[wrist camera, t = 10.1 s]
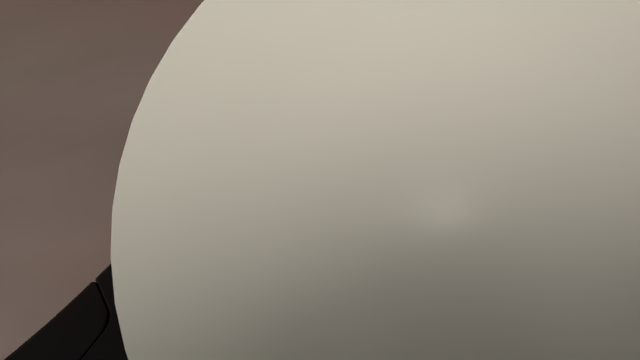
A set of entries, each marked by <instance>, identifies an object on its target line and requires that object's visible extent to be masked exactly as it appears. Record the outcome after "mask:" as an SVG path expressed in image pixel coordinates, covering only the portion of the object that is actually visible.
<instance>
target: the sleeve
mask: <svg viewBox="0 0 640 360" xmlns="http://www.w3.org/2000/svg"><path fill="white" fill-rule="evenodd" d="M111 266H112V277H113V288H114V299H115V307H116V311H117V316H118V320H119V325H120V329H121V334H122V339H123V343H124V348H125V352H126V354H127V357H128V360H640V0H204V1H203V2H202V3H201V4H200V6H199V7H198V8H197V10H196V11H195V12H194V13H193V15H192V16H191V17H190V19H189V20H188V21H187V23H186V24H185V25H184V27H183V28H182V29H181V31H180V32H179V33H178V34H177V36H176V37H175V38H174V40H173V41H172V43H171V45H170V46H169V48H168V50H167V51H166V53H165V55H164V56H163V58H162V60H161V62H160V63H159V65H158V67H157V68H156V70H155V72H154V74H153V75H152V77H151V79H150V81H149V83H148V85H147V88H146V90H145V92H144V95H143V97H142V99H141V102H140V104H139V106H138V109H137V111H136V113H135V116H134V118H133V120H132V123H131V127H130V130H129V134H128V137H127V141H126V144H125V147H124V151H123V154H122V158H121V161H120V165H119V171H118V177H117V183H116V190H115V196H114V202H113V208H112V231H111Z"/></svg>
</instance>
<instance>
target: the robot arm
mask: <svg viewBox="0 0 640 360" xmlns="http://www.w3.org/2000/svg"><path fill="white" fill-rule="evenodd" d="M4 360H128V357H127V354H126V352H125V348H124V343H123V339H122V334H121V329H120V325H119V320H118V316H117V311H116V307H115V299H114V288H113V277H112V266H111V264H110V265H109V266H108V267H107V268H106V269H105V270H104V271H103V272H102V273H101V274H100V275H99V276H98V277H97V278H96V282H91V283H90V284H89V285H88V286H87V287H86V288H85V289H84V290H83V291H82V292H81V293H80V294H79V295H78V296H77V297H76V298H74V299H73V300H72V301H71V302H70V303H69V304H68V305H67V306H66V307H65V308H64V309H62V310H61V311H60V312H59V313H58V314H57V315H56V316H55V317H54V318H53V319H52V320H50V321H49V322H48V323H47V324H46V325H45V326H44V327H43V328H41V329H40V330H39V331H38V332H37V333H35V334H34V335H33V336H32V337H31V338H29V339H28V340H27V341H26V342H25V343H24V344H22V345H21V346H20V347H19V348H18V349H16V350H15V351H14V352H13V353H12V354H10V355H9V356H8V357H7V358H6V359H4Z"/></svg>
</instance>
